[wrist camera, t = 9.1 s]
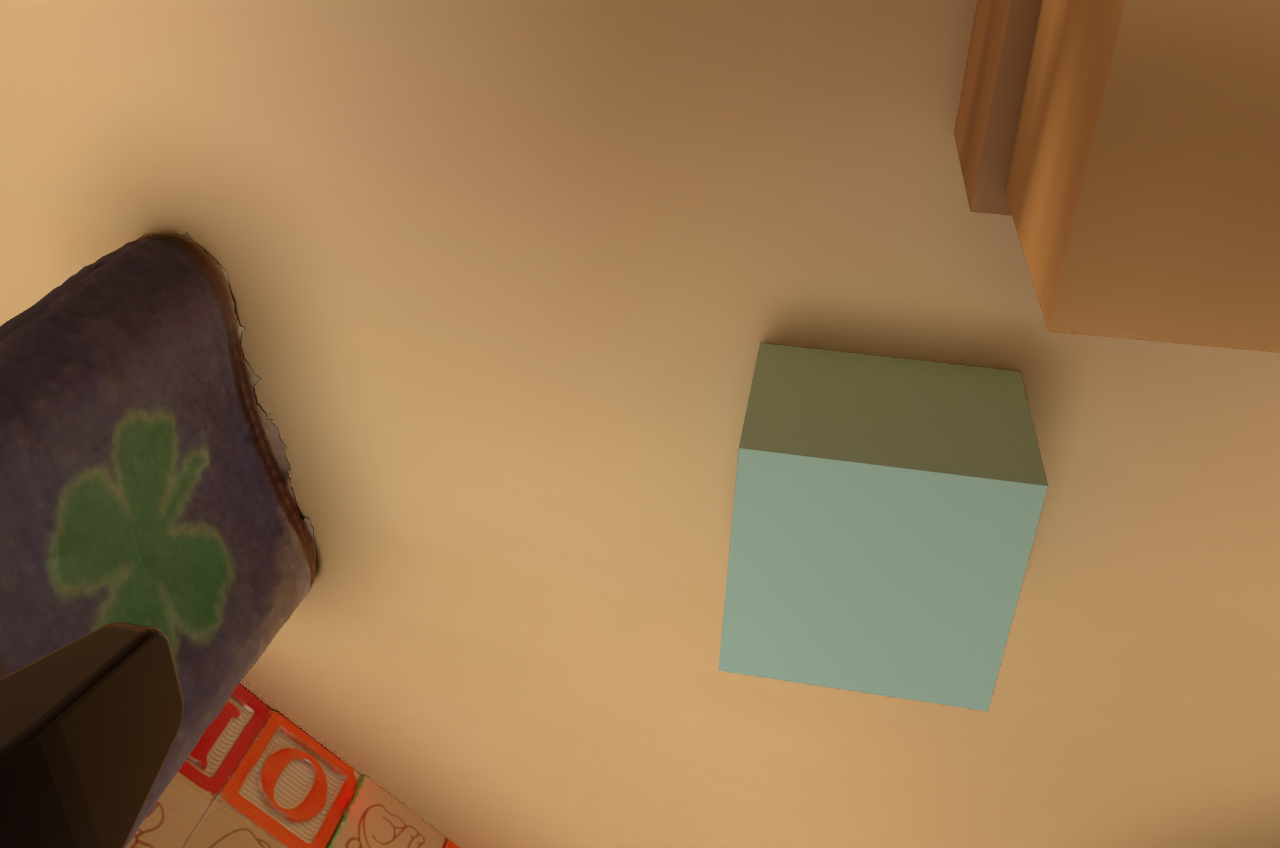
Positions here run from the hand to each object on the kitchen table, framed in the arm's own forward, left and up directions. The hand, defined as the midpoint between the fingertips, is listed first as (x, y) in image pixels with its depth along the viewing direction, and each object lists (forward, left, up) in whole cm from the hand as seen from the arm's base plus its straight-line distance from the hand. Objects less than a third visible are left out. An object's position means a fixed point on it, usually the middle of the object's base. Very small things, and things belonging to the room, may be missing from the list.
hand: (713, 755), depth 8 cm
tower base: (-2, +5, -13) cm, 14 cm away
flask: (+12, +6, -13) cm, 19 cm away
